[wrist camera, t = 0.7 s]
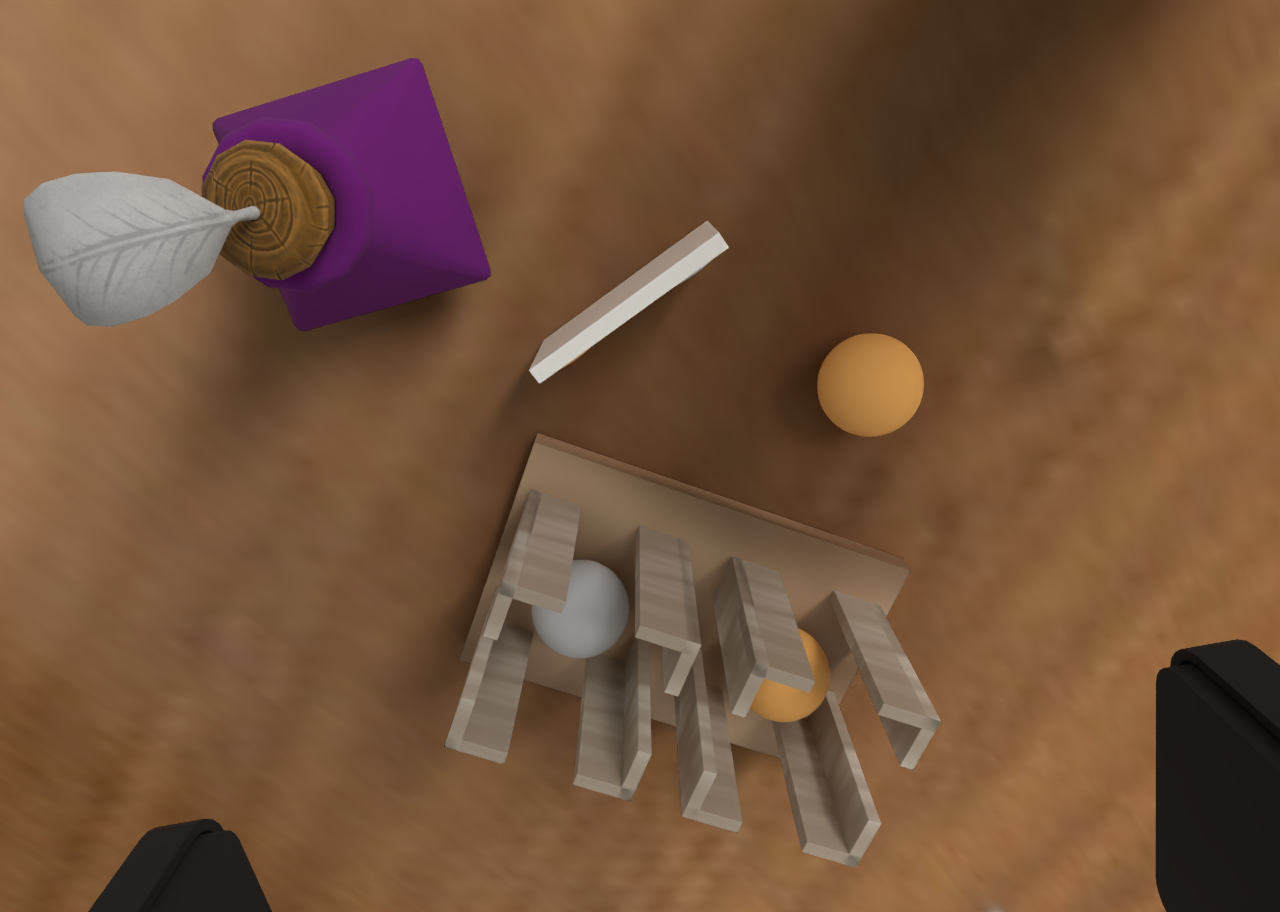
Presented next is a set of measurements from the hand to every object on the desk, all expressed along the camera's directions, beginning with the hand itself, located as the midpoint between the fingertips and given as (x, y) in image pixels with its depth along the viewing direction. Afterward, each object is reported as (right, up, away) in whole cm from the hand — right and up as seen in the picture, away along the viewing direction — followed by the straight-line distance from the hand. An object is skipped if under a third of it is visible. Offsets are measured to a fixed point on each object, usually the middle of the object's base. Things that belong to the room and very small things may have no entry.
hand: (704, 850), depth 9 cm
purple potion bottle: (-10, +14, +24) cm, 30 cm away
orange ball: (+8, +7, +26) cm, 29 cm away
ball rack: (+1, -3, +30) cm, 30 cm away
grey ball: (-3, -2, +28) cm, 29 cm away
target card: (-1, +11, +25) cm, 27 cm away
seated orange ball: (+5, -4, +29) cm, 30 cm away
